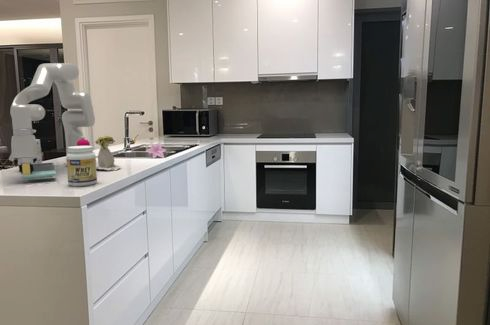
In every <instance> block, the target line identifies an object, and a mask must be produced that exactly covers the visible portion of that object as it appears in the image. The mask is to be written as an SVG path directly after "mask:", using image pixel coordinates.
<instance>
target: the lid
mask: <svg viewBox="0 0 490 325" xmlns="http://www.w3.org/2000/svg"><path fill="white" fill-rule="evenodd" d="M22 170H23V174H22V178H23V179H24V178H25V179H26V180H31V179H33V180H36V179H45V178H46V179H47V178H53V177H54V176H53V175H55V176H57V171H56V169H54V170H53V171H40V172H32V173H30V162H29V163H22Z"/></svg>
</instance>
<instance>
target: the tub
mask: <svg viewBox="0 0 490 325" xmlns="http://www.w3.org/2000/svg"><path fill="white" fill-rule="evenodd" d="M33 169H34V171H32V172H40V171H53V170H55V163H54V162H42V163H39V164H33ZM54 176H56V175H53V177H54Z"/></svg>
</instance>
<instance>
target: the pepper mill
mask: <svg viewBox="0 0 490 325" xmlns="http://www.w3.org/2000/svg"><path fill="white" fill-rule="evenodd" d="M85 138H86V137H85V136H84V135H83V136H82V137H81V140H79V141H78V142H77V146H91V144H90V143H91V142H90V141H89V140H88V139H85Z"/></svg>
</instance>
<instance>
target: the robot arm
mask: <svg viewBox="0 0 490 325" xmlns="http://www.w3.org/2000/svg"><path fill="white" fill-rule="evenodd" d="M79 74H80V70H79V67H78V66H77V65H76V64H75V63H73V62H52V63H48V62H47V63H41V64H39V65H38V67H37V69H36V71H35V73H34V75H33V79H32V80H31V82H30V85H29V86H27V87H25V88H24V89H22V90H21V91H20V92H19V93H18V94H17V95H16V96H15V97H14V99H13V101H12V103H11V105H10V116H11V121H12V122H11V123H12V124H11V125H12V131H13V135H12V136H11V143H10V144H11V146H10V147H11V152H10V155H9V156H8V160H9V161H11V162H13V163H15V164H16V165H18V171H19V173H20V175H23V170H22V163H21V158H30V173H32V171H34V169H33V164H34V163H35V162H36V161H37V160H38V159H40V158H41V155H42V154H41V155H40V154H39V152H38V151H37V144H36V139H37V138H36V136H35V135H34V134H36V133H37V130H36V129H33V125H32V124H33V123H32V122H33V121H34V122H35V121H36V122H37V121H41V120H43V119H44V118H45V116H46V109H45V108H44V107H43V106H42V105H40V104H35V103H33V104H32V103H31V102H33V101H35V100H38V99H42V98H44V97H46V96H47V95H49V93H50V91H51V88H52V85H53V83H54V84H55V86H56V88H57V92H58V95H59V100H60V104H61V106H62V107H63V108H64V109H66V110H65V111H64V112H63V113H62V115H61V121H62V125H63V129H64V138H65V139H64V140H65V148H66V150H65V151H66V155H67V154H68V153H69V151H68V147H72V146H77V142H78V141H79V140H81V137H82V136H84V133H83V131H82V130H81V128H90V127H93V126H94V125H95V123H96V118H95V112H94V107H93V106H94V105H93V100H92V99H91V95H90V94H89V93H88V92H86V91H77V90H76V89H75V86H74V82H73V81H74V80H77V79H78V77H79ZM30 103H31V104H30ZM67 109H68V110H67ZM36 156H37V157H36ZM33 157H36V158H34V159H33ZM64 166H65V167H67V162H65V163H64Z"/></svg>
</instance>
